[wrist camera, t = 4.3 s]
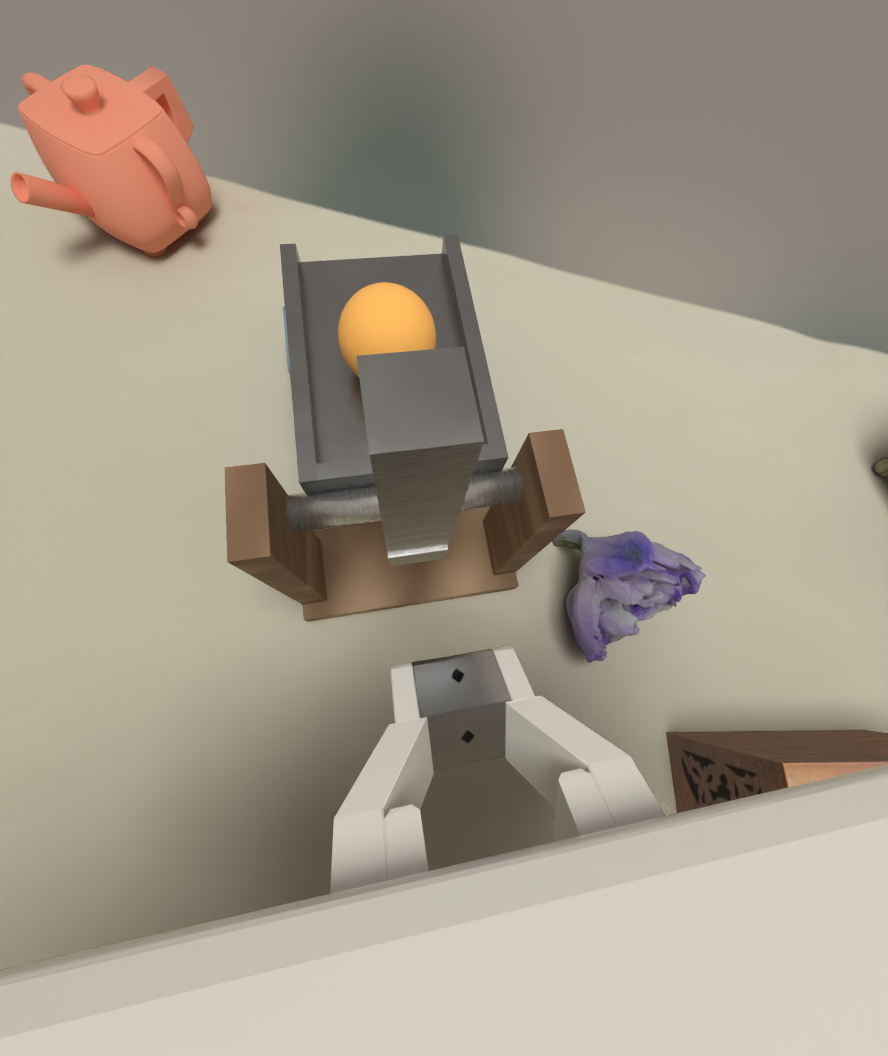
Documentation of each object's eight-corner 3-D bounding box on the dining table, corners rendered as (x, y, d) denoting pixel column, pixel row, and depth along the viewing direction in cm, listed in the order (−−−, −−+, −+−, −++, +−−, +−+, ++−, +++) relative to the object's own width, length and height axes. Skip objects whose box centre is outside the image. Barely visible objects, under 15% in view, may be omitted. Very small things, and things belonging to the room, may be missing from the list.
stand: (307, 621, 30) (228, 587, 17) (301, 537, 32) (224, 445, 18) (514, 588, 32) (591, 534, 19) (498, 510, 34) (557, 409, 20)
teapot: (77, 278, 37) (-33, 150, 28) (88, 174, 40) (-7, 28, 31) (223, 271, 38) (163, 146, 29) (222, 171, 41) (168, 30, 32)
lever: (300, 581, 19) (171, 482, 8) (278, 293, 23) (175, -5, 13) (527, 548, 20) (653, 426, 10) (466, 281, 24) (509, -2, 14)
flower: (511, 524, 26) (683, 611, 21) (581, 473, 32) (732, 533, 26) (496, 628, 32) (629, 717, 27) (557, 570, 37) (678, 635, 32)
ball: (349, 411, 19) (335, 349, 16) (340, 336, 20) (325, 261, 17) (439, 402, 20) (447, 339, 16) (426, 329, 21) (430, 254, 17)
